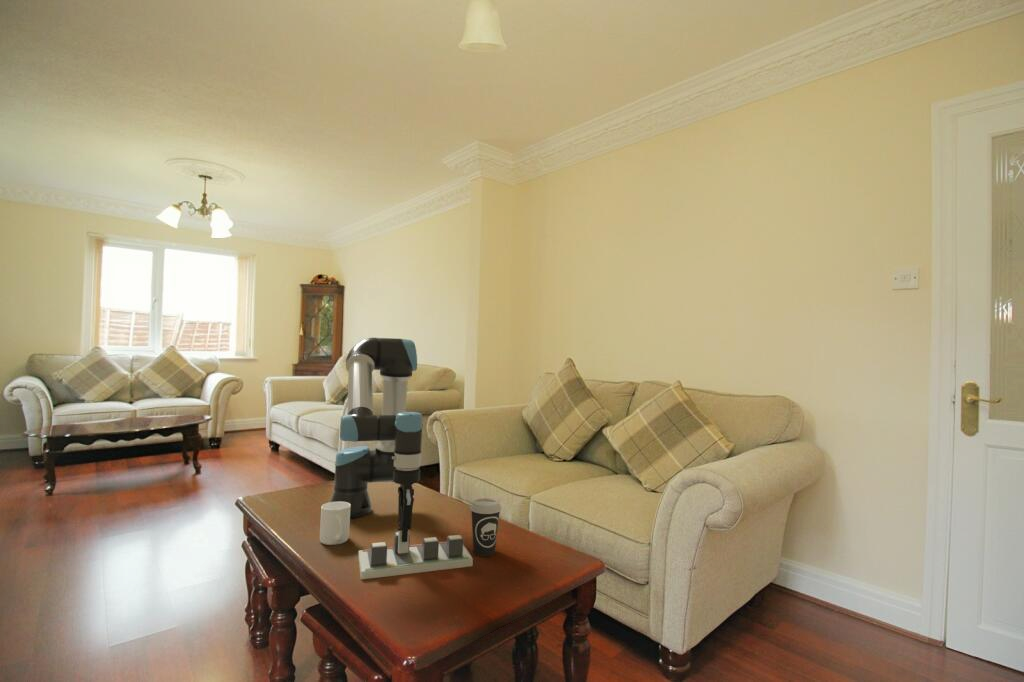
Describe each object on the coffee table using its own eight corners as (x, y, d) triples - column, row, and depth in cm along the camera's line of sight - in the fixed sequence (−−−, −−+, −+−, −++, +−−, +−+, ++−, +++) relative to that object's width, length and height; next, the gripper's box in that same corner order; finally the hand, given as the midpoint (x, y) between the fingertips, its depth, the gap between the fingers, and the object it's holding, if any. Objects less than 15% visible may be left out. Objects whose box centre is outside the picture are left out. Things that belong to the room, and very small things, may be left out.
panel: (358, 557, 137) (358, 549, 137) (460, 546, 147) (460, 539, 147) (361, 579, 123) (361, 570, 124) (472, 566, 134) (472, 558, 134)
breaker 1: (370, 560, 129) (370, 542, 129) (385, 559, 131) (386, 541, 131) (370, 565, 126) (371, 547, 126) (386, 563, 128) (387, 545, 128)
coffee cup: (504, 548, 147) (506, 499, 148) (492, 560, 138) (495, 508, 139) (475, 543, 150) (477, 495, 151) (462, 555, 141) (465, 503, 142)
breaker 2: (393, 548, 138) (394, 531, 138) (407, 547, 139) (408, 530, 139) (394, 552, 135) (395, 535, 135) (409, 551, 136) (409, 534, 137)
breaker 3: (421, 555, 134) (422, 538, 134) (435, 553, 135) (436, 536, 136) (423, 559, 131) (424, 542, 131) (438, 557, 133) (438, 540, 133)
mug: (325, 551, 140) (327, 514, 140) (316, 538, 150) (318, 503, 150) (355, 546, 144) (356, 510, 145) (344, 533, 154) (346, 500, 155)
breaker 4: (446, 552, 137) (447, 535, 137) (459, 551, 138) (460, 534, 138) (448, 556, 134) (449, 539, 134) (462, 555, 135) (463, 538, 135)
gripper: (390, 462, 140) (386, 544, 139) (396, 473, 127) (392, 563, 127) (416, 461, 142) (412, 541, 141) (424, 472, 130) (420, 560, 129)
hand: (403, 551), depth 134 cm, fingers closed
